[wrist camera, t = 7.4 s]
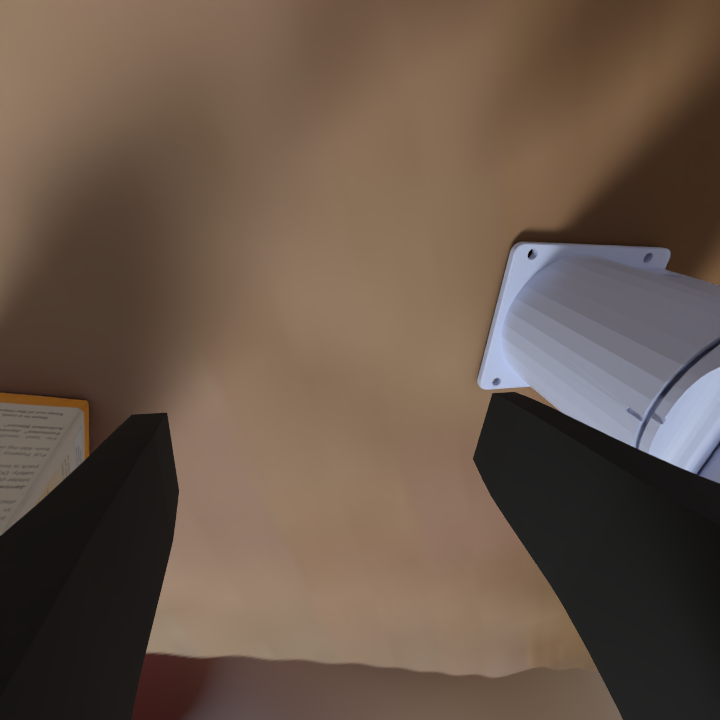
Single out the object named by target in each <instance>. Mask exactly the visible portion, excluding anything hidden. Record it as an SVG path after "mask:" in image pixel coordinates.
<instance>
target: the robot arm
mask: <svg viewBox="0 0 720 720" xmlns="http://www.w3.org/2000/svg"><path fill="white" fill-rule="evenodd" d="M531 249H533V251H532V254H531V256H530V257H528V253H529V251H530V250H531ZM670 256H671V254H670V250H669V249H666V248H662V247H642V246H618V245H594V244H570V243H546V242H518V243H516V244H515V245H514V246H513V247H512V249H511V251H510V255H509V259H508V262H507V266H506V270H505V274H504V278H503V282H502V286H501V290H500V294H499V298H498V302H497V305H496V309H495V313H494V317H493V321H492V325H491V329H490V333H489V337H488V341H487V345H486V348H485V352H484V356H483V360H482V364H481V368H480V372H479V376H478V380H477V383H478V385H479V386H480V387H481V388H482V389H501V388H515V387H530V386H531V387H532V388H533V389H534V390H536V391H537V392H538V393H539V394H540V395H542V396H543V397H544V398H545V399H546V400H547V401H549V402H550V403H551V404H552V405H553V406H555V407H556V408H557V409H558V410H559V411H557V410H555V409H553V408H551V407H549V406H547V405H545V404H542V403H540V402H538V401H536V400H533V399H531V398H529V397H526V396H524V395H521V394H518V393H516V392H507V393H492V397H491V400H490V403H489V407H488V410H487V413H486V417H485V420H484V424H483V427H482V430H481V434H480V437H479V440H478V444H477V447H476V450H475V454H474V457H473V460H474V462H475V464H476V466H477V469H478V471H479V473H480V475H481V477H482V479H483V481H484V483H485V485H486V487H487V489H488V491H489V493H490V495H491V497H492V498H493V500H494V501H495V503H496V504H497V506H498V507H499V509H500V510H501V512H502V514H503V515H504V517H505V518H506V520H507V521H508V523H509V524H510V526H511V527H512V529H513V530H514V532H515V533H516V535H517V536H518V538H519V539H520V540H521V542H522V543H523V545H524V546H525V548H526V549H527V551H528V552H529V554H530V555H531V557H532V558H533V560H534V561H535V563H536V564H537V566H538V567H539V569H540V570H541V572H542V573H543V575H544V576H545V578H546V579H547V580H548V582H549V584H550V585H551V587H552V588H553V590H554V592H555V593H556V595H557V596H558V598H559V600H560V601H561V603H562V604H563V606H564V608H565V610H566V612H567V613H568V615H569V617H570V619H571V621H572V622H573V624H574V626H575V628H576V630H577V632H578V633H579V635H580V637H581V639H582V641H583V642H584V644H585V646H586V648H587V650H588V651H589V653H590V655H591V657H592V659H593V661H594V663H595V665H596V667H597V669H598V671H599V673H600V675H601V677H602V678H603V681H604V682H605V684H606V686H607V688H608V690H609V692H610V694H611V696H612V698H613V700H614V702H615V704H616V706H617V708H618V710H619V712H620V714H621V716H622V718H623V720H720V285H717V284H714V283H710V282H707V281H703V280H700V279H696V278H693V277H690V276H686V275H683V274H679V273H676V272H672V271H669V270H666V269H665V268H666V266H667V263H668V261H669V259H670ZM644 257H645V258H644ZM495 378H497V379H496V380H495V381H494V382H493V380H494V379H495ZM178 495H179V488H178V481H177V475H176V468H175V462H174V455H173V449H172V442H171V436H170V429H169V423H168V416H167V413H155V414H138V415H131V416H130V417H129V418H128V419H127V420H126V421H125V422H124V423H123V424H122V425H120V426H119V427H118V428H117V429H116V430H115V431H114V432H113V433H112V434H111V435H110V436H109V437H108V438H107V439H106V440H105V441H104V442H103V443H102V444H101V445H100V446H99V447H98V448H97V449H96V450H95V451H94V452H93V453H91V454H90V455H89V456H88V457H87V458H86V459H85V460H84V461H83V462H82V463H81V464H80V465H79V466H78V467H77V468H76V469H75V470H74V471H73V472H72V473H70V474H69V475H68V476H67V477H66V478H65V479H64V480H63V481H62V482H61V483H60V484H59V485H58V486H56V487H55V488H54V489H53V490H52V491H51V492H50V493H49V494H48V495H47V496H46V497H45V498H44V499H42V500H41V501H40V502H39V503H38V504H37V505H36V506H35V507H33V508H32V509H31V510H30V511H29V512H28V513H26V514H25V515H24V516H23V517H22V518H21V519H19V520H18V521H17V522H16V523H15V524H14V525H12V526H11V527H10V528H9V529H8V530H7V531H5V532H4V533H3V534H2V535H1V536H0V720H132V714H133V708H134V702H135V697H136V693H137V688H138V683H139V678H140V674H141V669H142V665H143V661H144V657H145V653H146V649H147V645H148V641H149V637H150V633H151V629H152V625H153V621H154V616H155V612H156V608H157V604H158V600H159V596H160V592H161V588H162V584H163V580H164V576H165V572H166V567H167V563H168V559H169V555H170V551H171V546H172V542H173V536H174V528H175V521H176V512H177V503H178Z"/></svg>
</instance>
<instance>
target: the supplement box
mask: <svg viewBox="0 0 720 720" xmlns="http://www.w3.org/2000/svg"><path fill="white" fill-rule="evenodd" d="M89 455H90V454H89V404H88V401H86V400H76V399H66V398H55V397H44V396H35V395H25V394H11V393H0V536H1V535H2V534H3V533H4V532H5V531H7V530H8V529H9V528H10V527H11V526H12V525H14V524H15V523H16V522H17V521H18V520H19V519H21V518H22V517H23V516H24V515H25V514H26V513H28V512H29V511H30V510H31V509H32V508H33V507H35V506H36V505H37V504H38V503H39V502H40V501H41V500H42V499H44V498H45V497H46V496H47V495H48V494H49V493H50V492H51V491H52V490H53V489H54V488H55V487H56V486H58V485H59V484H60V483H61V482H62V481H63V480H64V479H65V478H66V477H67V476H68V475H69V474H70V473H72V472H73V471H74V470H75V469H76V468H77V467H78V466H79V465H80V464H81V463H82V462H83V461H84V460H85V459H86V458H87V457H88V456H89Z"/></svg>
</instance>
